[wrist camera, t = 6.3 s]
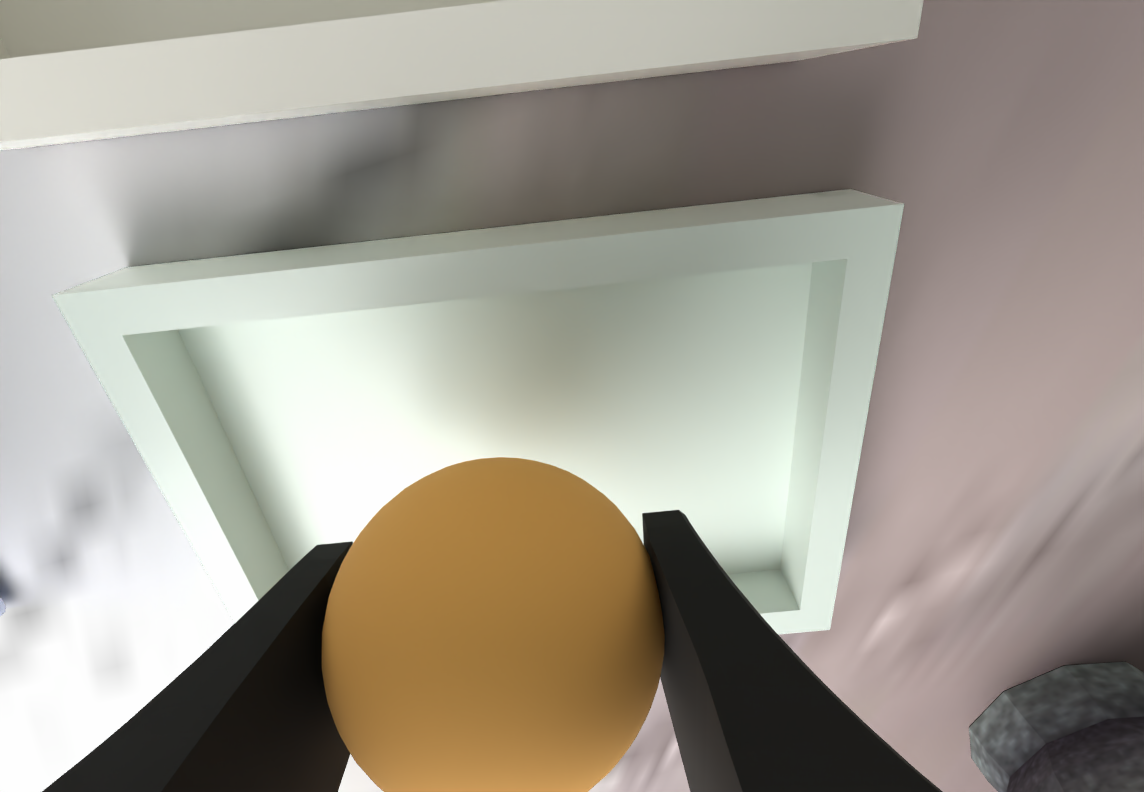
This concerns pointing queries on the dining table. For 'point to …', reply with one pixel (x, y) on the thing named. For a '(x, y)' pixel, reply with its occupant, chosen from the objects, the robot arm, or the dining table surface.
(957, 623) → the dining table surface
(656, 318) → the tray
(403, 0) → the cream open box
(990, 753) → the mortar and pestle
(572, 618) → the ball
